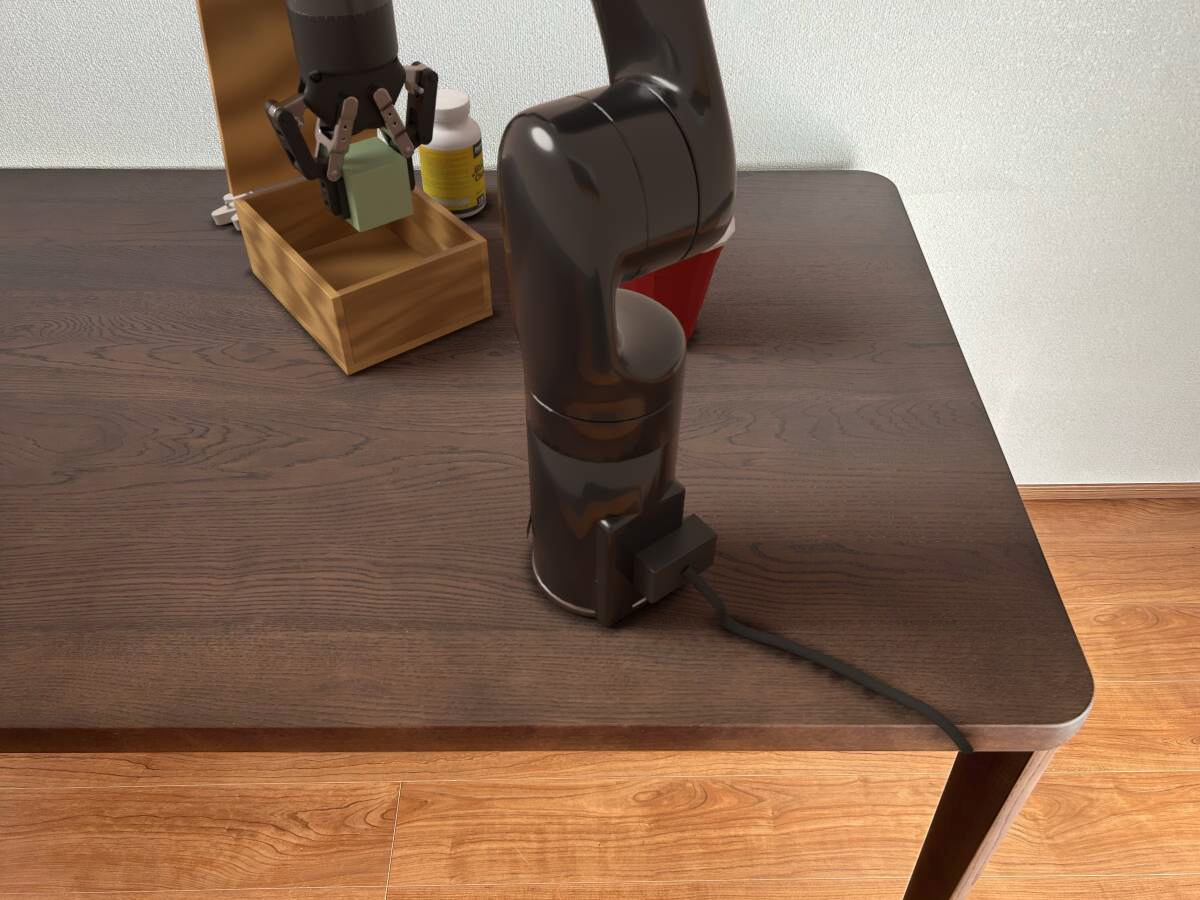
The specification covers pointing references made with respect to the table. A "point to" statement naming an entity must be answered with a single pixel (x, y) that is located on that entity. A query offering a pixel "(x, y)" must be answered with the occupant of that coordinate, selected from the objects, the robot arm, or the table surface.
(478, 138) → the pill bottle
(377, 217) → the block
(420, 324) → the chest
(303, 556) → the table surface
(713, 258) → the plastic cup
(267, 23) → the lid
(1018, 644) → the table surface
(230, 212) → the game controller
